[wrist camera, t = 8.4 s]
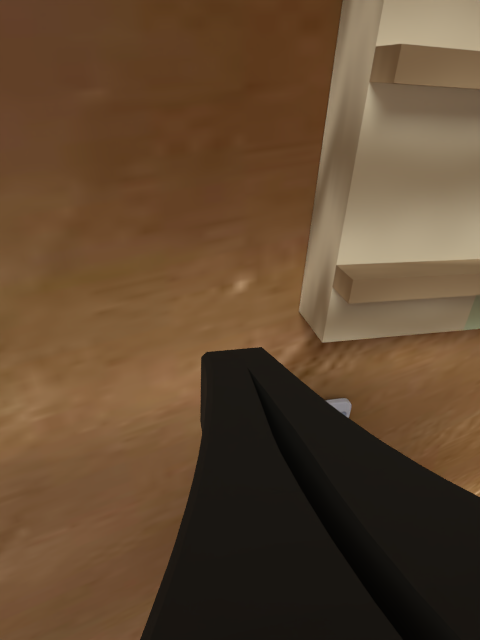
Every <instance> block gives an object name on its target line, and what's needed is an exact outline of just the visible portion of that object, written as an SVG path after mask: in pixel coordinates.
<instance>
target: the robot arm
mask: <svg viewBox="0 0 480 640" xmlns="http://www.w3.org/2000/svg"><path fill="white" fill-rule="evenodd" d="M350 411H351V403H350V402H349V400H348V399H346V398H340V399H332V400H324V399H323V398H321V397H320V396H319V395H318V394H316V393H315V392H314V391H313V390H311V389H310V388H309V387H308V386H307V385H305V384H304V383H303V382H302V381H301V380H299V379H298V378H297V377H296V376H295V375H294V374H292V373H291V372H290V371H289V370H288V369H286V368H285V367H284V366H283V365H282V364H281V363H280V362H278V361H277V360H276V359H275V358H274V357H273V356H271V355H270V354H269V353H268V352H267V351H265V350H264V349H263V348H262V347H259V348H247V349H236V350H225V351H214V352H206V353H205V354H204V355H203V356H202V357H201V419H200V421H201V428H202V439H201V444H200V450H199V456H198V461H197V465H196V470H195V474H194V478H193V482H192V486H191V490H190V494H189V498H188V502H187V505H186V509H185V512H184V515H183V519H182V522H181V525H180V529H179V532H178V535H177V539H176V542H175V545H174V548H173V551H172V554H171V557H170V560H169V563H168V566H167V569H166V571H165V574H164V577H163V580H162V582H161V585H160V588H159V590H158V593H157V596H156V599H155V601H154V604H153V607H152V610H151V612H150V615H149V618H148V620H147V623H146V626H145V629H144V631H143V634H142V636H141V639H140V640H480V497H478V496H476V495H474V494H473V493H471V492H469V491H467V490H465V489H463V488H461V487H459V486H457V485H455V484H453V483H452V482H450V481H448V480H446V479H444V478H442V477H440V476H439V475H437V474H435V473H433V472H432V471H430V470H428V469H426V468H424V467H423V466H421V465H419V464H418V463H416V462H414V461H413V460H411V459H410V458H408V457H406V456H405V455H403V454H401V453H400V452H398V451H397V450H395V449H393V448H392V447H390V446H388V445H387V444H385V443H384V442H382V441H381V440H379V439H378V438H376V437H375V436H373V435H372V434H370V433H369V432H367V431H366V430H365V429H363V428H362V427H360V426H359V425H358V424H356V423H355V422H353V421H352V420H351V419H349V415H350ZM341 412H342V413H341Z"/></svg>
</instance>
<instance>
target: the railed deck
mask: <svg viewBox="0 0 480 640" xmlns="http://www.w3.org/2000/svg"><path fill="white" fill-rule="evenodd" d="M299 312H300V313H301V315H302V316H303V317H304V319H305V320H306V321H307V323H308V324H309V325H310V327H311V328H312V329H313V331H314V332H315V333H316V335H317V336H318V337H319V339H320V340H321V341H322V343H324V342H335V341H346V340H358V339H369V338H380V337H392V336H403V335H414V334H426V333H437V332H448V331H460V330H471V329H480V0H343V3H342V10H341V17H340V24H339V31H338V39H337V46H336V53H335V60H334V67H333V74H332V81H331V88H330V95H329V102H328V109H327V116H326V123H325V130H324V137H323V144H322V152H321V159H320V166H319V173H318V180H317V187H316V194H315V201H314V208H313V215H312V222H311V229H310V236H309V243H308V250H307V258H306V265H305V272H304V279H303V286H302V293H301V300H300V307H299Z"/></svg>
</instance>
